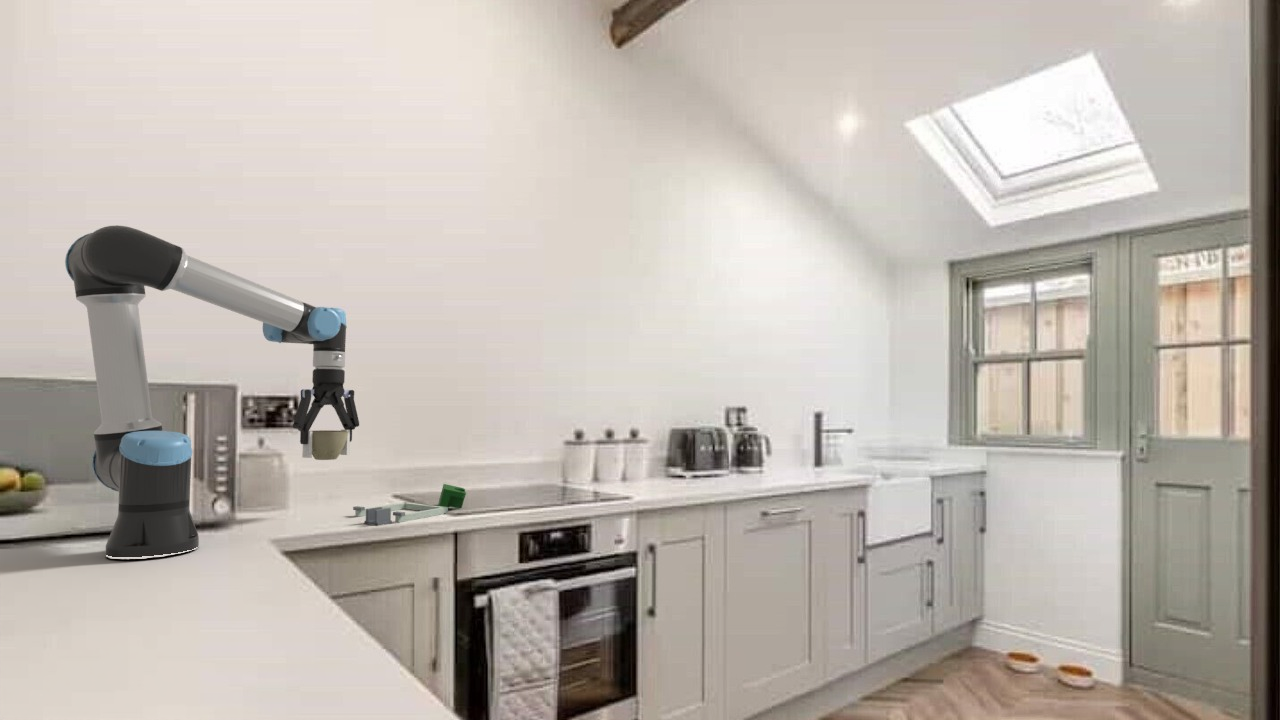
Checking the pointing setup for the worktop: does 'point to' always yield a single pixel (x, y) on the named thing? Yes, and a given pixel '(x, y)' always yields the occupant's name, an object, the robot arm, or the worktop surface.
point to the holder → (401, 516)
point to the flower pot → (328, 444)
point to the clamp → (452, 496)
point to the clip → (378, 516)
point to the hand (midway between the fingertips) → (326, 456)
